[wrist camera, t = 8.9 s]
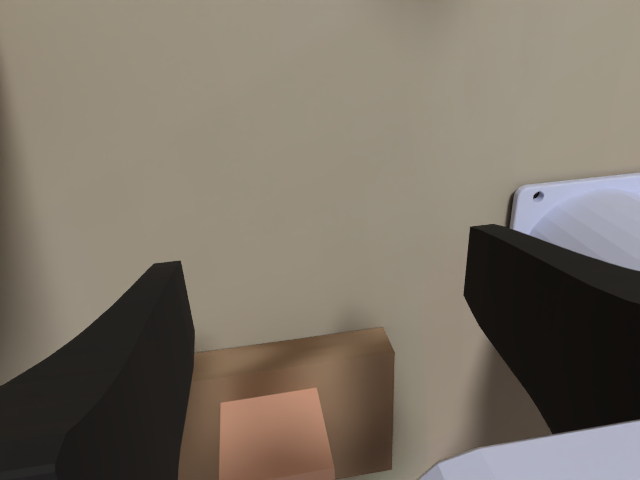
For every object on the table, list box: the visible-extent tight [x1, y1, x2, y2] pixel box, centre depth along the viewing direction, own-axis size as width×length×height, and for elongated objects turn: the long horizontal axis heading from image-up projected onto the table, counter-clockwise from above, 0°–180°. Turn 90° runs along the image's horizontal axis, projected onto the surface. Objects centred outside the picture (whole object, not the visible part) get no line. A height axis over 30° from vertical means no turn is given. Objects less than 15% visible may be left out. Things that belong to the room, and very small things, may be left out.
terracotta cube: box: [219, 388, 335, 480], centre depth 22 cm, size 4×4×4 cm
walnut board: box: [178, 327, 395, 480], centre depth 25 cm, size 12×8×2 cm, turn 93°
